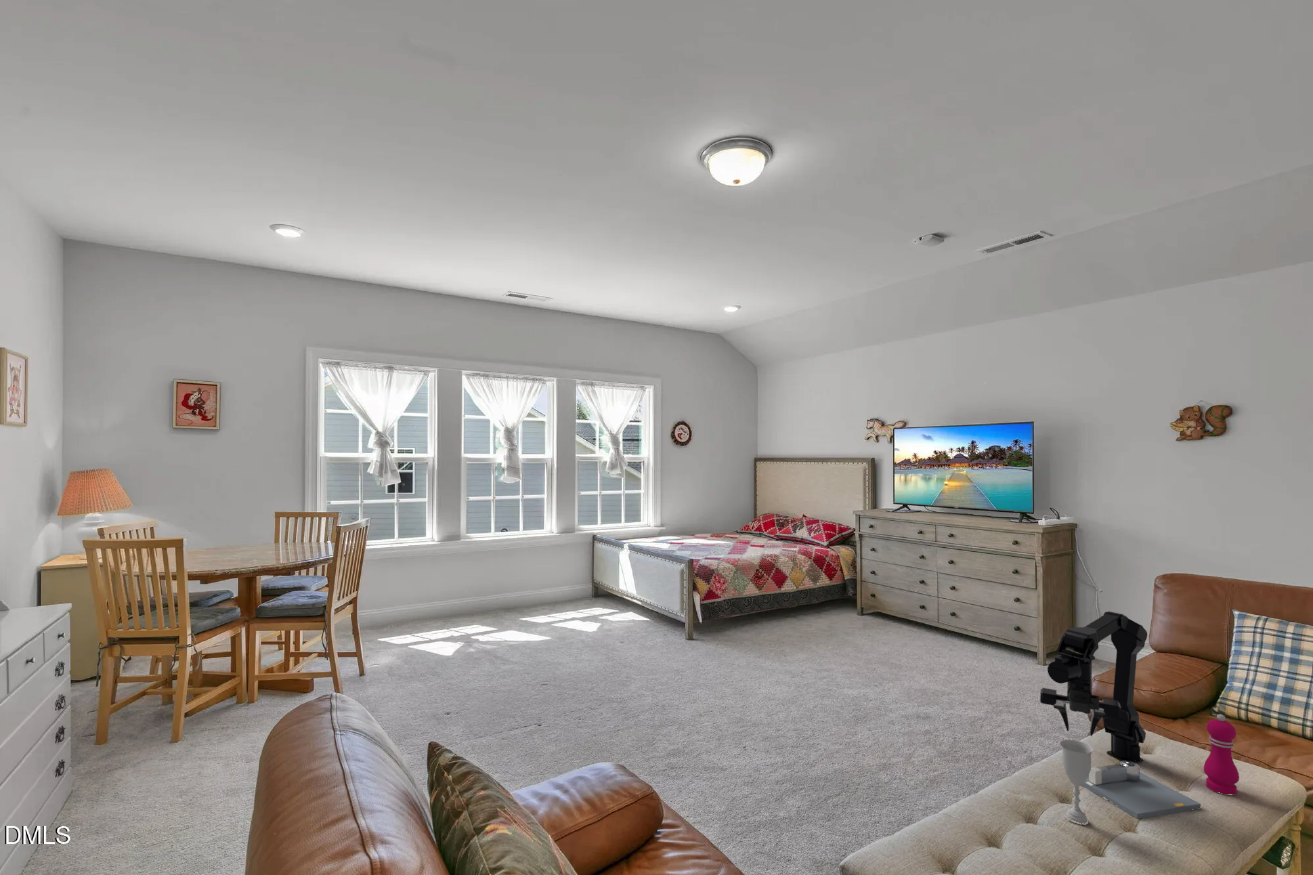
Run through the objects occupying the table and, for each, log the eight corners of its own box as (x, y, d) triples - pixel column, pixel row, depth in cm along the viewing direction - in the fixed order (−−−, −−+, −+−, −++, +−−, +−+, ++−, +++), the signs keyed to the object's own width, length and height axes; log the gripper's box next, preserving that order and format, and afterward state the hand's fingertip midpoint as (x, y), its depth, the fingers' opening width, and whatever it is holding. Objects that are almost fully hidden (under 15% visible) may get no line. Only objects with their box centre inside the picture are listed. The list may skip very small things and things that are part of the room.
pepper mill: (1246, 797, 170) (1246, 721, 170) (1214, 794, 172) (1214, 718, 172) (1227, 783, 177) (1227, 710, 177) (1197, 780, 179) (1197, 707, 179)
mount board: (1068, 777, 180) (1068, 772, 180) (1127, 769, 185) (1127, 764, 185) (1137, 818, 161) (1137, 813, 161) (1200, 808, 165) (1200, 803, 165)
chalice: (1082, 830, 155) (1082, 755, 155) (1053, 816, 161) (1053, 743, 161) (1099, 822, 159) (1099, 748, 159) (1071, 808, 165) (1071, 737, 165)
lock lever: (1128, 772, 180) (1128, 757, 180) (1144, 780, 176) (1144, 765, 176) (1085, 778, 177) (1085, 763, 177) (1099, 787, 172) (1099, 771, 172)
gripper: (1039, 679, 179) (1039, 735, 179) (1122, 693, 169) (1122, 753, 169) (1040, 667, 188) (1040, 721, 188) (1119, 679, 179) (1119, 736, 179)
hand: (1079, 732), depth 181 cm, fingers open, 5 cm apart
